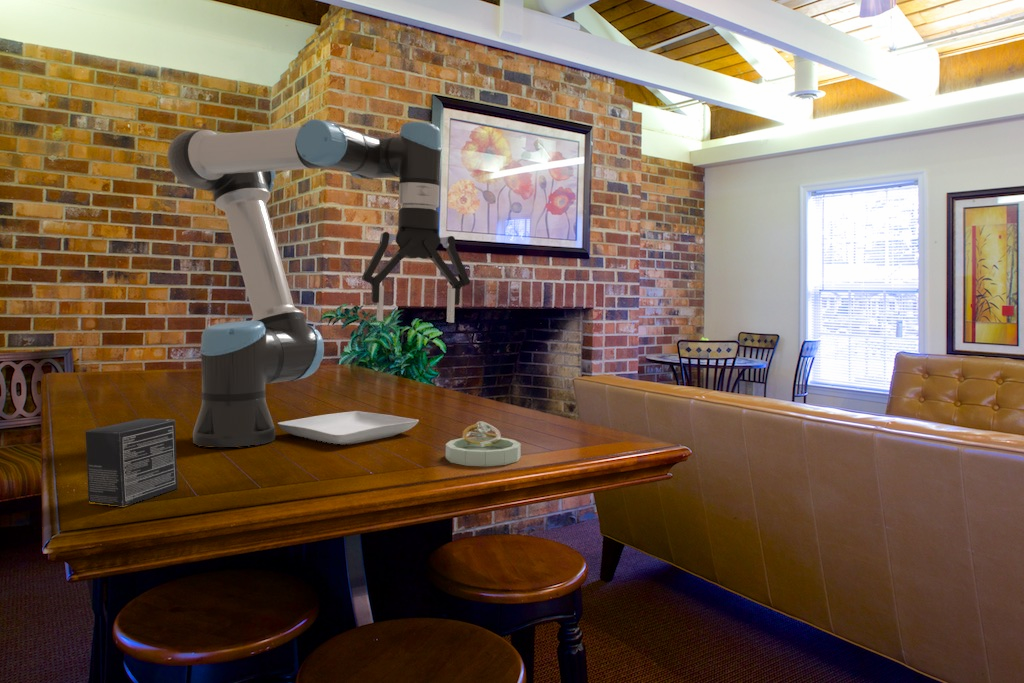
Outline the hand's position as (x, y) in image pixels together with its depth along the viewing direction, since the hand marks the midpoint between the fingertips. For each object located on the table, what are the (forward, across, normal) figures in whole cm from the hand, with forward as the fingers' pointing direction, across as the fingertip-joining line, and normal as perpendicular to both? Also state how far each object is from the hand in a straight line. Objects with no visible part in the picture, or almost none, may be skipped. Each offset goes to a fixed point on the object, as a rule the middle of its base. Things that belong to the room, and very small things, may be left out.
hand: (415, 321), depth 138 cm
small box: (+25, -45, -22) cm, 56 cm away
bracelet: (+21, +10, -14) cm, 27 cm away
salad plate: (+25, -10, +15) cm, 31 cm away
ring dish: (+23, +10, -14) cm, 29 cm away
